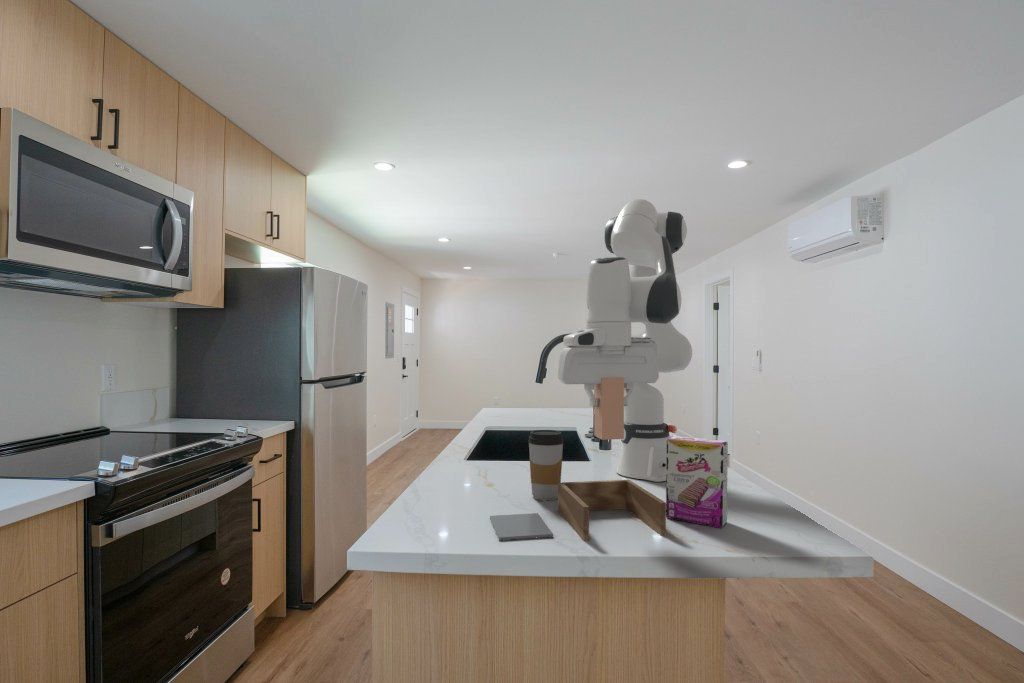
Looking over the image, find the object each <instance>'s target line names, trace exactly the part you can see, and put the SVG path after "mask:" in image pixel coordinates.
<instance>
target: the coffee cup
mask: <svg viewBox="0 0 1024 683" xmlns="http://www.w3.org/2000/svg"><path fill="white" fill-rule="evenodd" d="M562 433H563V432H561V431H559V430H554V429H535V430H532V431H530V433H529V436H528V448H529V472H530V484H531V485H530V486H531V496H532V498H534V499H535V498H536V499H535V500H538V499H540V500H539V501H544V500H549V501H554V500H558V483H562V470H563V469H562V467H563V446H564V436H563V434H562Z"/></svg>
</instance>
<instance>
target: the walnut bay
mask: <svg viewBox="0 0 1024 683" xmlns="http://www.w3.org/2000/svg"><path fill="white" fill-rule="evenodd" d="M605 510H606V511H609V510H610V511H612V510H627V511H629V513H631V514H633V515H634V516H635V517H636V518H637V519H639V520H640V521H642V522H643V523H644V524H645V525H647V526H648V527H649V528H651V529H652V530H653V531H654V532H656V533H657V534H659V535H660V536H667V534H666V533H667V518H666V501H665V500H662V499H661V498H659V497H658V496H656V495H655V494H653V493H651V492H650V491H648V490H647V489H645V488H643V487H641V485H638V483H635V482H634V481H632V480H631V479H614V480H613V479H611V480H610V479H609V480H589V481H568V482H565V481H564V482H561V483H558V498H557V511H558V513H559V515H561V516H562V518H563V519H564V520H565V521H566V522H567V523H568V525H570V527H571V528H572V529H573V530H574V531H575V532H576V534H577V535H578V537H580V538H581V539H582V540H584V541H590V512H594V511H605Z"/></svg>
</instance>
